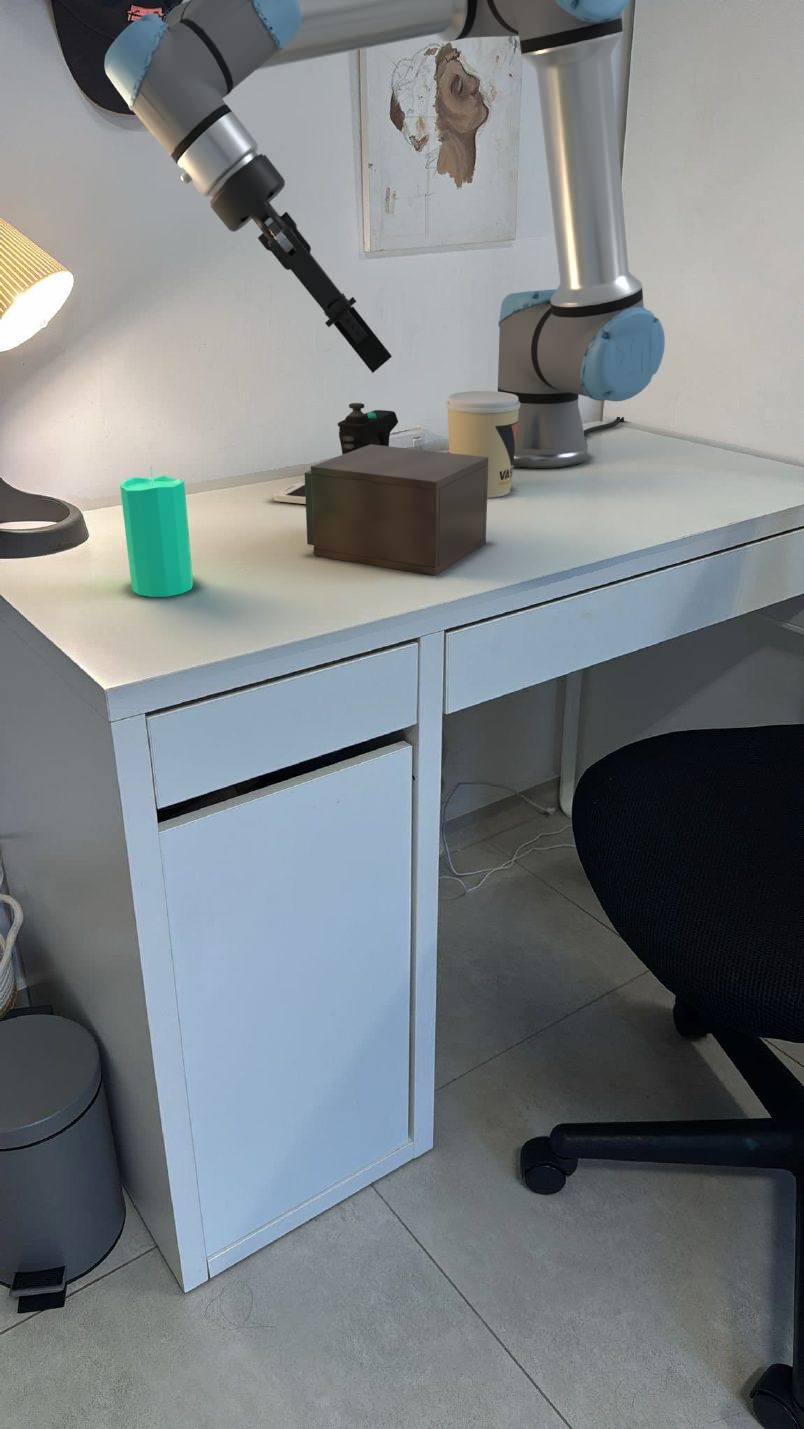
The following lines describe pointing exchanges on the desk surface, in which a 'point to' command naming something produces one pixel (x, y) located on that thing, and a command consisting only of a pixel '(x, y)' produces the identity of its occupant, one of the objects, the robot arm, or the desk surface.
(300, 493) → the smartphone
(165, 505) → the candle
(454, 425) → the coffee cup
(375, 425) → the controller
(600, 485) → the desk surface
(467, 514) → the cabinet
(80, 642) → the desk surface
